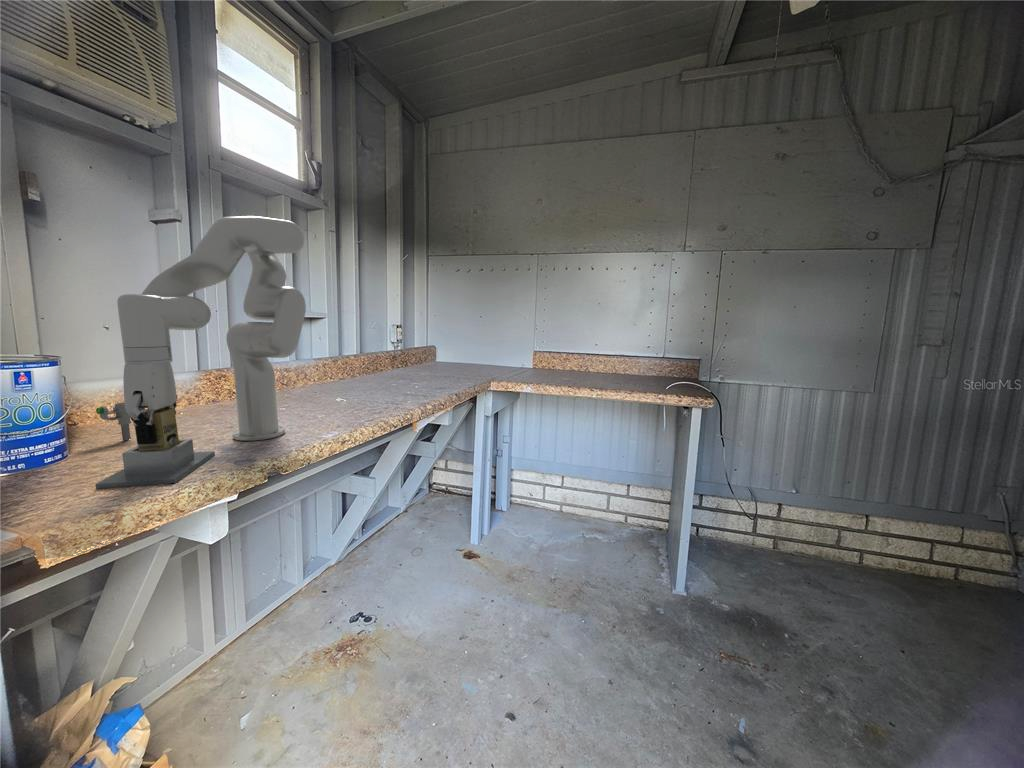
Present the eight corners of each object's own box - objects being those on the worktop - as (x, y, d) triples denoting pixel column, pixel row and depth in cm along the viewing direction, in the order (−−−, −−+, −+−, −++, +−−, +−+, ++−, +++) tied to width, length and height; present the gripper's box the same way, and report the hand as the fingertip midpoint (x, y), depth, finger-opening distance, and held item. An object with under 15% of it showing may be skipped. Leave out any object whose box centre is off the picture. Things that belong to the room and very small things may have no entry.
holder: (151, 458, 97) (148, 435, 97) (214, 455, 100) (212, 433, 100) (96, 489, 80) (92, 461, 79) (174, 483, 83) (171, 457, 82)
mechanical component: (99, 444, 107) (94, 406, 105) (145, 434, 116) (141, 399, 115) (106, 446, 106) (101, 407, 104) (152, 435, 115) (148, 400, 114)
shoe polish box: (181, 460, 93) (174, 408, 91) (168, 468, 88) (160, 412, 86) (156, 462, 92) (148, 409, 90) (141, 470, 87) (132, 414, 85)
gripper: (151, 352, 94) (160, 428, 97) (96, 359, 77) (109, 452, 80) (190, 351, 96) (198, 427, 98) (144, 359, 79) (155, 449, 82)
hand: (158, 437), depth 89 cm, fingers open, 7 cm apart
